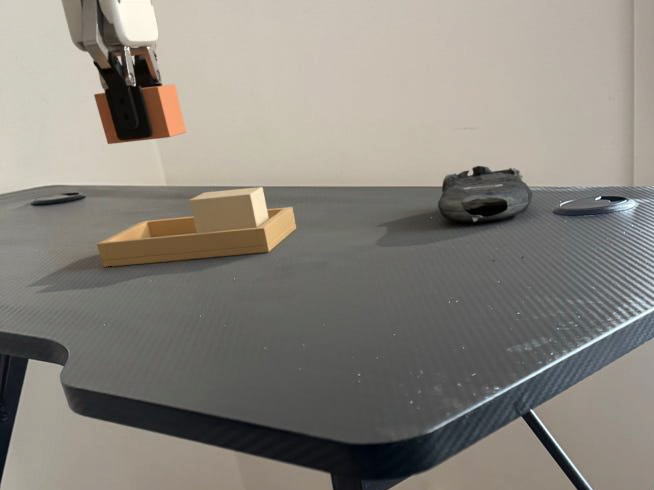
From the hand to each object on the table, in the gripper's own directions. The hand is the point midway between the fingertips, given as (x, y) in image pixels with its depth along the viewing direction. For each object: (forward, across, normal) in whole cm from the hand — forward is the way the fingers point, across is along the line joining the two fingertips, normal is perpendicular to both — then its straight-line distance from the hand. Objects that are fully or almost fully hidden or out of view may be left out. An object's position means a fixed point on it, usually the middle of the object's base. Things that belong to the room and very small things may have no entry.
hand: (146, 133), depth 87 cm
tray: (+10, 0, +3) cm, 11 cm away
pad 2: (+10, 0, +6) cm, 12 cm away
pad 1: (0, 0, 0) cm, 0 cm away
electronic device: (+11, -5, +31) cm, 33 cm away
